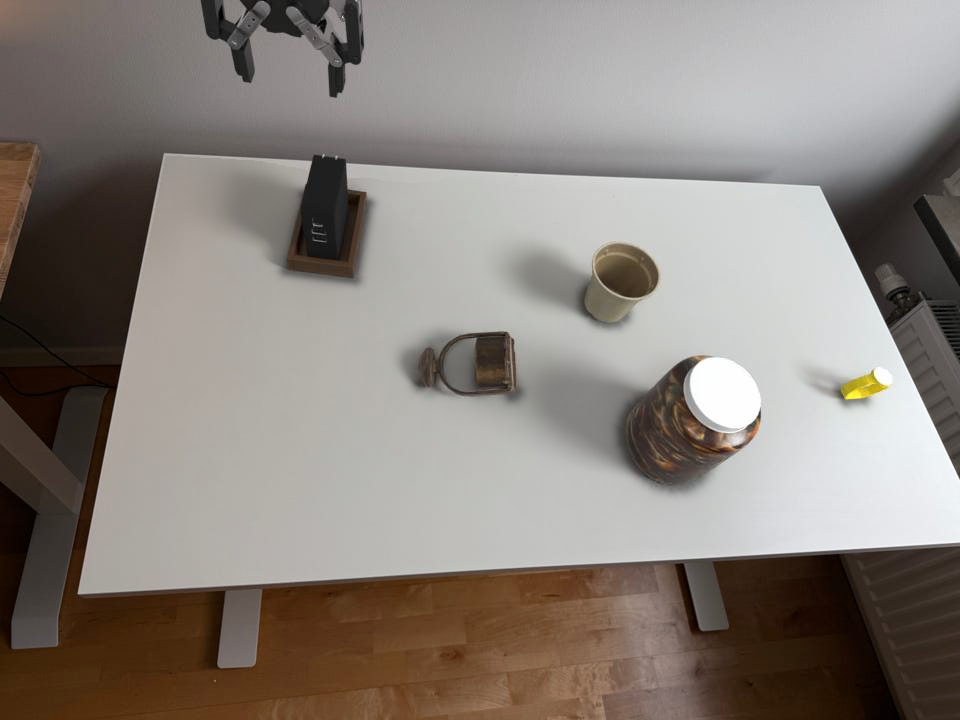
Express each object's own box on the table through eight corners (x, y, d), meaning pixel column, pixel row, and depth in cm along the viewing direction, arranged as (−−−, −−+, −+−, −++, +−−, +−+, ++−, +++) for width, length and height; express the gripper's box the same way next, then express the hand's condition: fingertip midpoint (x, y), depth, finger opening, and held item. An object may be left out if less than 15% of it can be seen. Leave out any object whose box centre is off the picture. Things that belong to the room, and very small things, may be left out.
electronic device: (307, 260, 82) (299, 209, 73) (319, 204, 86) (313, 151, 78) (338, 263, 82) (334, 213, 73) (349, 208, 87) (346, 155, 78)
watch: (838, 405, 85) (868, 387, 79) (829, 387, 86) (859, 368, 81) (873, 402, 86) (905, 383, 81) (865, 384, 87) (896, 365, 82)
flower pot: (647, 325, 86) (673, 291, 78) (589, 340, 83) (611, 305, 76) (618, 273, 90) (641, 235, 82) (563, 286, 87) (580, 248, 80)
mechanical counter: (514, 412, 70) (542, 337, 73) (413, 368, 69) (446, 295, 72) (501, 421, 77) (528, 352, 80) (409, 382, 76) (439, 314, 79)
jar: (727, 458, 78) (798, 412, 65) (661, 502, 73) (724, 462, 60) (669, 385, 82) (726, 328, 69) (604, 423, 77) (651, 370, 64)
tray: (288, 270, 81) (286, 258, 79) (307, 195, 88) (305, 182, 85) (353, 278, 82) (352, 267, 80) (366, 203, 89) (366, 191, 86)
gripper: (163, -89, 45) (210, 97, 59) (356, -50, 47) (357, 121, 61) (191, -136, 49) (229, 50, 63) (368, -98, 50) (367, 74, 64)
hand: (292, 85), depth 62 cm, fingers open, 8 cm apart
